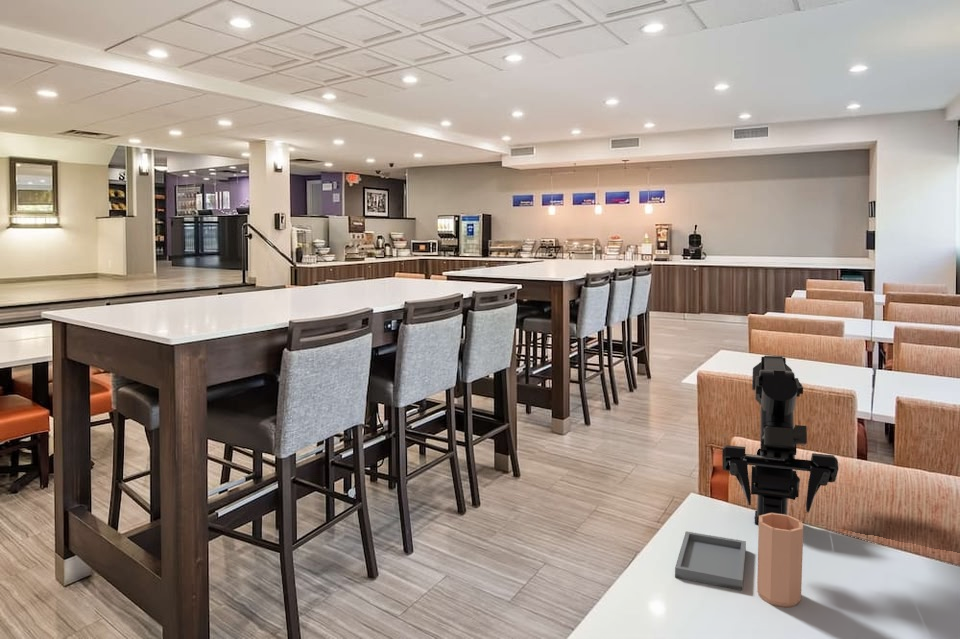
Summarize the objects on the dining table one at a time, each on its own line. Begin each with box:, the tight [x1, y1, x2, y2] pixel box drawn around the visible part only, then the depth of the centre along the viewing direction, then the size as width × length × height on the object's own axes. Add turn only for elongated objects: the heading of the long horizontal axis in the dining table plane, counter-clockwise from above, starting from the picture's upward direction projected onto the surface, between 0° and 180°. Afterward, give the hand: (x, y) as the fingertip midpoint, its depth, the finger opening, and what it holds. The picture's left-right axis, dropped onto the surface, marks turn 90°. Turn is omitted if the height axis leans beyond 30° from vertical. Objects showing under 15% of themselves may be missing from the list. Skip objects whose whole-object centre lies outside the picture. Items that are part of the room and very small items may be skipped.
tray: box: [674, 531, 747, 591], centre depth 112 cm, size 15×11×2 cm
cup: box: [756, 513, 804, 608], centre depth 100 cm, size 6×6×13 cm
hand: (778, 507), depth 106 cm, fingers open, 9 cm apart
